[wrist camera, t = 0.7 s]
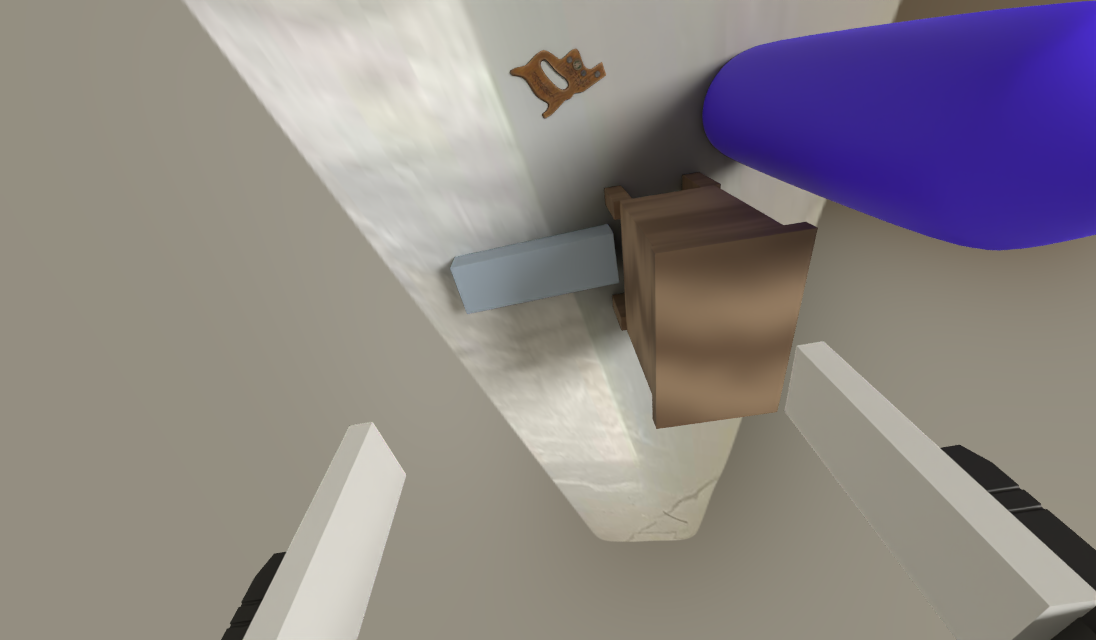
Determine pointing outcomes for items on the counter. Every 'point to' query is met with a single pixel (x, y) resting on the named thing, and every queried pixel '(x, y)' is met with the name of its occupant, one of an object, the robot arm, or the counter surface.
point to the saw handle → (567, 67)
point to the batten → (536, 269)
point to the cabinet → (709, 299)
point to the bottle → (929, 122)
